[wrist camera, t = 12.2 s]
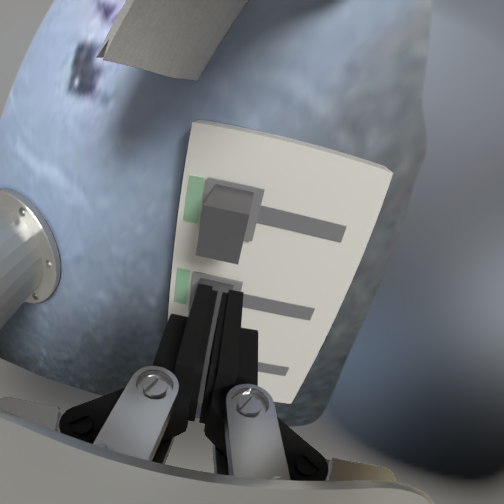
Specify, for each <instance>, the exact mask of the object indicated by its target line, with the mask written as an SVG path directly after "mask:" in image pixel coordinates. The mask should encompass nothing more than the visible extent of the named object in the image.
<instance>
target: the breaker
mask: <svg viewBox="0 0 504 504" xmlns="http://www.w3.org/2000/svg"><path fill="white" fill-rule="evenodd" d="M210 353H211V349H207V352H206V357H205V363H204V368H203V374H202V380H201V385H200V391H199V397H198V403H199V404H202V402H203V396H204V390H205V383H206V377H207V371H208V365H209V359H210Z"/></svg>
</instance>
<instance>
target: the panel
mask: <svg viewBox="0 0 504 504" xmlns="http://www.w3.org/2000/svg"><path fill="white" fill-rule="evenodd" d="M392 175H393V172H391V171H390V170H389V169H387V168H386V167H385V166H383V165H380V164H377V163H374V162H371V161H368V160H365V159H361V158H358V157H355V156H352V155H349V154H345V153H342V152H339V151H335V150H332V149H328V148H325V147H321V146H317V145H314V144H310V143H306V142H303V141H299V140H295V139H291V138H287V137H283V136H279V135H274V134H270V133H266V132H261V131H257V130H252V129H248V128H243V127H238V126H233V125H228V124H223V123H217V122H212V121H206V120H200V119H199V120H197V121H194V122H192V127H191V132H190V138H189V144H188V150H187V156H186V162H185V169H184V175H183V182H182V189H181V196H180V204H179V211H178V219H177V227H176V236H175V244H174V254H173V263H172V274H171V285H170V297H169V309H168V320H169V317H170V315H171V313H172V314H177V315H181V316H186V317H188V314H189V311H188V309H189V301H190V293H191V286H192V278H193V272H194V271H197V272H201V273H205V274H210V275H214V276H219V277H223V278H228V279H232V280H237V281H241V282H243V285H242V289H241V292H244V295H243V308H242V321H241V327H242V328H247V329H253V330H258V386H259V387H261V388H263V389H264V390H266V391H267V392H268V393H269V394H270V395H271V397H272V399H273V401H274V402H281V403H288V404H291V403H292V401H293V399H294V397H295V396H296V394H297V392H298V390H299V388H300V386H301V385H302V383H303V381H304V379H305V377H306V375H307V373H308V371H309V370H310V368H311V366H312V364H313V362H314V360H315V358H316V356H317V354H318V352H319V350H320V348H321V346H322V344H323V342H324V340H325V338H326V336H327V334H328V332H329V330H330V328H331V325H332V323H333V321H334V319H335V317H336V315H337V313H338V311H339V308H340V306H341V304H342V302H343V300H344V297H345V295H346V293H347V291H348V288H349V286H350V284H351V282H352V279H353V277H354V275H355V272H356V270H357V267H358V265H359V263H360V260H361V258H362V255H363V253H364V251H365V248H366V246H367V243H368V241H369V238H370V236H371V233H372V230H373V228H374V225H375V223H376V220H377V217H378V215H379V212H380V209H381V206H382V204H383V201H384V198H385V195H386V193H387V190H388V187H389V184H390V181H391V178H392ZM208 177H211V178H216V179H221V180H225V181H230V182H235V183H239V184H244V185H248V186H253V187H257V188H262V189H265V191H264V195H263V199H262V203H261V207H260V211H259V215H258V219H257V224H256V228H255V232H254V236H253V240H252V241H248V240H244V241H243V245H242V249H241V254H240V258H239V263H238V265H237V264H232V263H228V262H224V261H219V260H215V259H210V258H206V257H201V256H197V255H196V248H197V242H198V235H199V225H200V219H201V212H202V206H203V200H204V194H205V189H206V183H207V178H208Z"/></svg>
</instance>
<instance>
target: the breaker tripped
mask: <svg viewBox="0 0 504 504" xmlns="http://www.w3.org/2000/svg"><path fill="white" fill-rule="evenodd" d="M264 191H265V189H262V188H257V187H253V186H248V185H244V184H239V183H235V182H230V181H225V180H221V179H216V178H211V177H208V178H207V183H206V189H205V194H204V200H203V206H202V212H201V219H200V225H199V235H198V242H197V248H196V255H197V256H201V257H206V258H210V259H215V260H219V261H224V262H228V263H232V264H237V265H238V263H239V258H240V254H241V249H242V245H243V241H244V240H248V241H252V240H253V236H254V232H255V228H256V224H257V219H258V215H259V211H260V207H261V203H262V199H263V195H264Z"/></svg>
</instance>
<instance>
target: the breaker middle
mask: <svg viewBox="0 0 504 504" xmlns="http://www.w3.org/2000/svg"><path fill="white" fill-rule="evenodd" d="M198 283H200V284H205V285H210V286H213V289H212V290H215V291H218V293H217V298H216V304H215V309H214V314H213V319H212V325H211V330H210V335H209V341H208V346H207V349H211V348H212V342H213V337H214V332H215V327H216V322H217V317H218V312H219V307H220V302H221V297H222V292H225V293H228V291H229V289H230V290H235V291H240V292H241V289H242V285H243V282H241V281H237V280H232V279H228V278H223V277H219V276H214V275H210V274H205V273H201V272H197V271H194V272H193V278H192V286H191V293H190V301H189V309H188V311H189V314H190V310H191V307H192V303H193V300H194V297H195V293H196V290H197V286H198ZM189 314H188V317H189Z"/></svg>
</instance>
